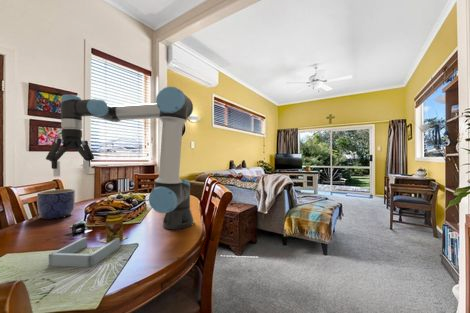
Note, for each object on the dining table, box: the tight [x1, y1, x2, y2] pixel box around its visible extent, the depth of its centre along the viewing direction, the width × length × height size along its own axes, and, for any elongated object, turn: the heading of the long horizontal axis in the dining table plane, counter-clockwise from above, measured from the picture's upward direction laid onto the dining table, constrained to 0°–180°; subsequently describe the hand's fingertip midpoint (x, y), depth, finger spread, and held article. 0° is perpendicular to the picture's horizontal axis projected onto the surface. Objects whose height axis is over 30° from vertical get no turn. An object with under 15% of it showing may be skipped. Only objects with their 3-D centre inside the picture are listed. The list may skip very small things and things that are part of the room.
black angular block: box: [63, 222, 93, 238], centre depth 95 cm, size 12×7×5 cm, turn 155°
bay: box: [48, 236, 121, 268], centre depth 72 cm, size 14×14×4 cm
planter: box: [36, 188, 76, 220], centre depth 120 cm, size 17×16×15 cm
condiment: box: [98, 209, 129, 244], centre depth 86 cm, size 7×8×12 cm
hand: (72, 175), depth 95 cm, fingers open, 13 cm apart
